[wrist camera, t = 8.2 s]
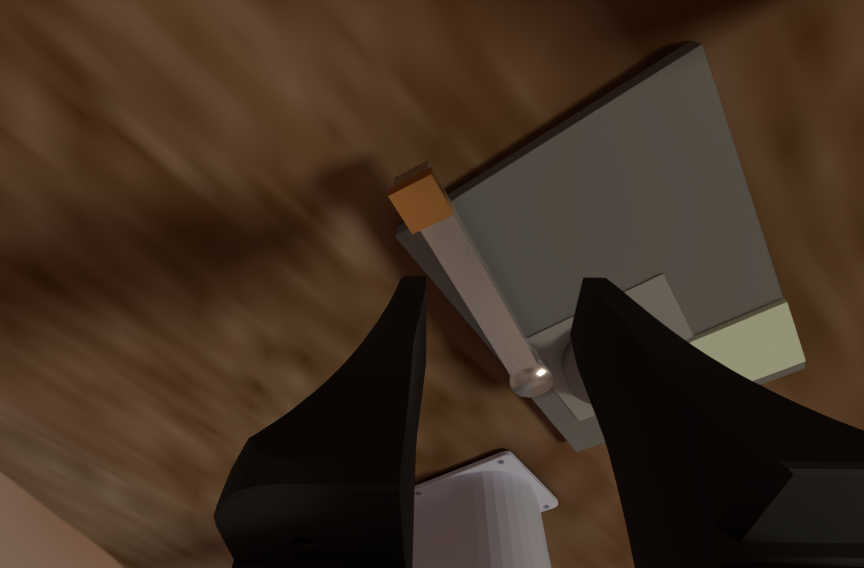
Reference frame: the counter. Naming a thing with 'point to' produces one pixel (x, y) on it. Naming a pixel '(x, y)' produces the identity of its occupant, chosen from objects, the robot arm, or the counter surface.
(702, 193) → the board
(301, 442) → the robot arm
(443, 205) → the rod with orange cap
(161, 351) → the counter surface
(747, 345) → the pad
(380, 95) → the counter surface
